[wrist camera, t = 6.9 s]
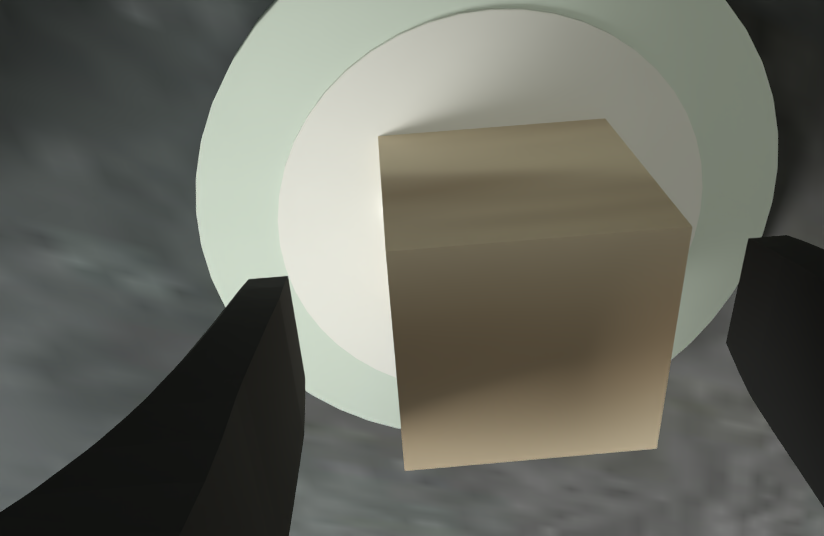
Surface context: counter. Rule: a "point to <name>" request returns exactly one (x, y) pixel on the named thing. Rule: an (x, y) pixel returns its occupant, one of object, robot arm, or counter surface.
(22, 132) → the counter surface
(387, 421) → the dish
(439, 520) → the counter surface
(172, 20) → the counter surface
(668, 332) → the block
